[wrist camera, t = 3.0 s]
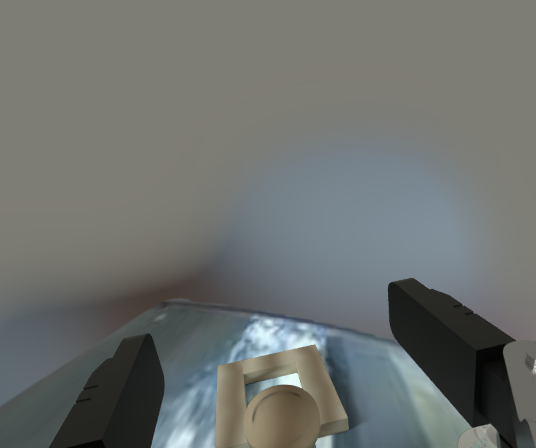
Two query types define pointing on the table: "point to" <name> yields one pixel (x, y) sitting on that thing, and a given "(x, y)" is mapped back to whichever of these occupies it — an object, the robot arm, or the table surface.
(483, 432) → the white curved piece
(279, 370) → the tan u-shaped bracket
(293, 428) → the bobbin
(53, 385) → the table surface
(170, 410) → the table surface
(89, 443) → the robot arm
